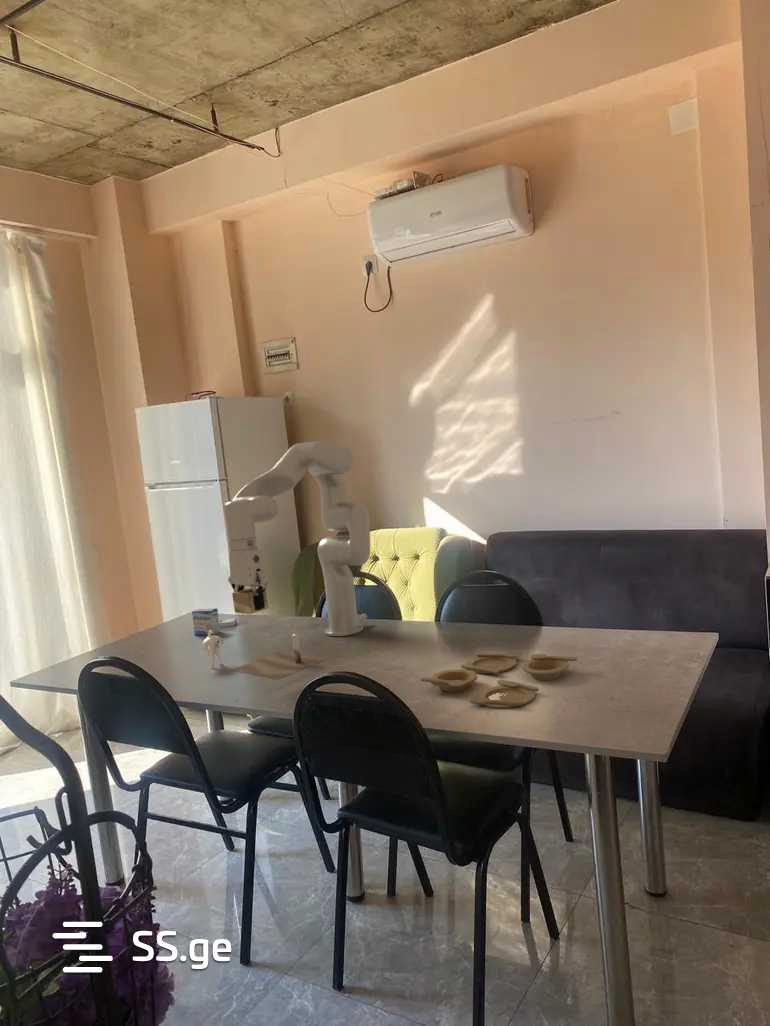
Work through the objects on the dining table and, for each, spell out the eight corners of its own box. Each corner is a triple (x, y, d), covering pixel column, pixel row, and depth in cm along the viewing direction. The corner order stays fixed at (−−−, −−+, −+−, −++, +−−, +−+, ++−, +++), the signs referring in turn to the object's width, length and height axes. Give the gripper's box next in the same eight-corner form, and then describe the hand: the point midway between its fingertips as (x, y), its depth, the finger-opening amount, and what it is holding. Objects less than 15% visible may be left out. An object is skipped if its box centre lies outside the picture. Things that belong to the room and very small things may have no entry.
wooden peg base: (278, 656, 225) (275, 625, 224) (326, 664, 213) (322, 631, 212) (231, 675, 212) (226, 642, 211) (279, 684, 199) (274, 649, 198)
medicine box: (194, 635, 263) (191, 611, 262) (200, 632, 267) (197, 608, 266) (214, 635, 261) (211, 610, 260) (220, 631, 265) (217, 607, 264)
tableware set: (485, 655, 207) (484, 641, 207) (585, 668, 188) (584, 652, 188) (407, 697, 180) (406, 681, 180) (515, 717, 162) (513, 699, 161)
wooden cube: (253, 606, 215) (250, 587, 214) (268, 607, 211) (265, 588, 210) (234, 612, 210) (232, 593, 209) (250, 614, 206) (247, 594, 205)
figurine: (210, 675, 214) (204, 634, 213) (201, 673, 217) (196, 632, 215) (230, 668, 219) (225, 627, 218) (222, 666, 222) (217, 626, 221)
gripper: (274, 542, 205) (282, 606, 207) (233, 541, 217) (241, 602, 218) (253, 547, 200) (261, 613, 202) (212, 546, 211) (221, 609, 213)
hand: (251, 607), depth 210 cm, fingers closed on wooden cube, 6 cm apart
